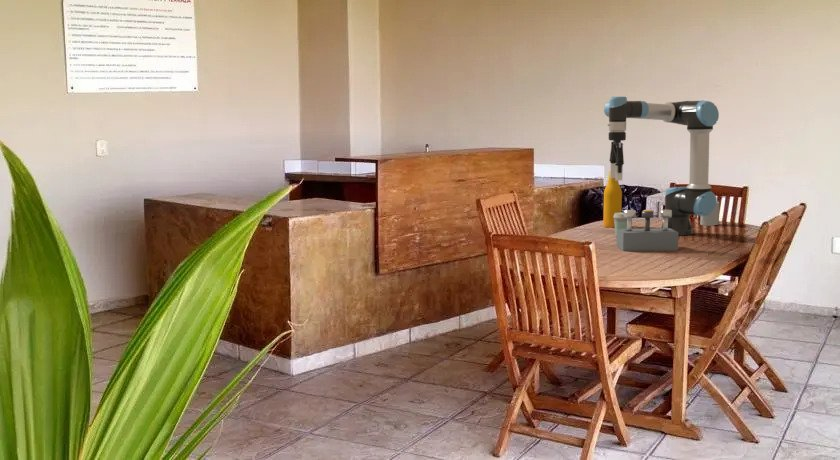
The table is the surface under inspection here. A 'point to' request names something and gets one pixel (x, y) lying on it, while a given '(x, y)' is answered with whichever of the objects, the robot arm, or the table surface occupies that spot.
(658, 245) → the console
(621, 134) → the robot arm
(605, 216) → the beer bottle
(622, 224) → the coffee cup
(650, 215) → the pot knob
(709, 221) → the cup
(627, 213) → the knob
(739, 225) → the table surface
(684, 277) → the table surface
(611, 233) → the table surface
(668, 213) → the knob
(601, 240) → the table surface
